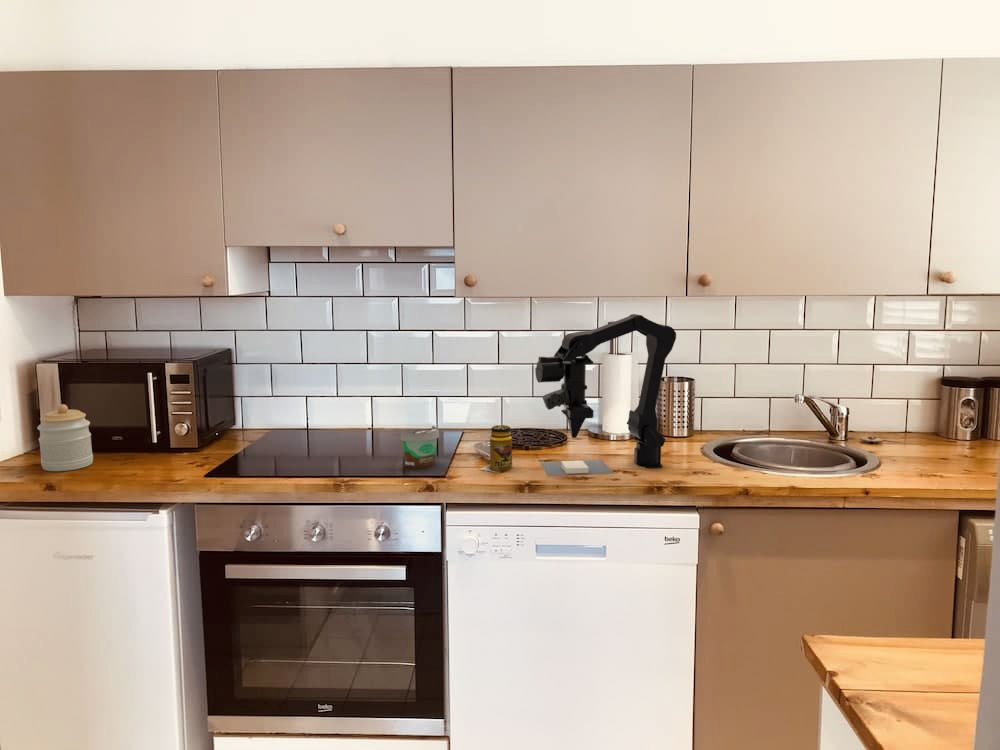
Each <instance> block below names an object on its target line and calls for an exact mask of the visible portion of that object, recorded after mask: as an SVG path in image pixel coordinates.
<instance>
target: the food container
mask: <svg viewBox="0 0 1000 750" xmlns="http://www.w3.org/2000/svg"><path fill="white" fill-rule="evenodd" d="M438 438H440V432H439V429H438V427H437V426H435V425H432V426H431V428H429V429H426V430H417V431H414V432H412V433H410V432H409V433H408V432H401V435H400V440H401V441H402V447H403V456H404V465H405V467H406V468H409V469H410V468H411V469H424V468H430V467H433V466H435V465H436V458H437V457H436V456H437V445H438V444H437V442H438Z"/></svg>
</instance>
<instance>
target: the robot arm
mask: <svg viewBox="0 0 1000 750" xmlns="http://www.w3.org/2000/svg"><path fill="white" fill-rule="evenodd" d="M632 332H638V333H639V334H641V335H643V336H645V344H646V345H645V346H646V352H647V359H646V360H647V361H646V366H645V371H644V374H643V380H642V385H641V391H640V395H639V399H638V404H637V406H636V408H635V409H634V410H631V409H630V410H629V412H628V420H627V422H626V425H627V428H628V431H629V433H630V434H631V436H632V437H633V438H634V439H633V440H634V441H636V443H635V444H636V445H635V448H634V450H633V451H634V453H633V454H634V455H633V461H634V463H635V464H636V465H638V467H641V468H649V469H650V468H663V464H662V461H661V460H662V459H661V458H662V447H664V445H665V441H666V438H665V437H664V436H663V435H662V434H661V433H660V432H659V431H658V421H659V420H658V416H657V410H656V408H657V402H658V398H659V393H660V388H661V383H662V377H663V373H664V367H665V362H666V359H667V357H668V356H669V355H670V353H671V352H672V350H673V347H674V345H675V343H676V340H677V339H676V338H677V333H676V331H675V329H674V328H673V327H672V326H670V325H665V324H662V323H661V324H659V323H657V322H655V321H652V320H650V319H648V318H646V317H645V316H643V315H642V314H636V313H632V314H630V315H628V316H627V317H624V318H621V319H618V320H616V321H613V322H610V323H607V324H604V325H601V326H600V327H597V328H593V329H590V330H583V331H582V330H581V331H575V332H570V333H567V334H566V335H564V336H563V339H562V341H561V345H560V346H559V348H558V349H557V351H556V352H555V354H553V356H538V361H537V363H536V367H535V371H534V372H535V378H536V381H537V383H538V384H539V383H557V382H561V380H563V382H562V383H561V386H560V389H557V390H554V391H551V392H549V393H547V394H544V395H542V399H543V403H544V405H545V408H547V410H549V411H550V410H553V409H554V408H555V407H558V408H559V407H561V406H563V409H561V413H562V414H563V415H564V416H565V417H566V418H567V421H568V426H569V431H570V435H571V438H572V439H576V438H577V437H578V435H579V432H580V431H581V428H582V426H583V424H584V422H585V420H586V419H593V418H594V410H593V408H591V407H590V406H589V405H588V401H587V400H586V391H587V390H588V385H587V384H586V375H587V374H586V372H587V371H586V366H587V365H593V364H594V361H593V360H592V359H591V358H590V357H589V355H588V353H590V352H592V351H594V349H596V348H597V347H598V346H599V345H601V344H605V343H606V342H609V341H611V340H614V339H617V338H620V337H623V336H625V335H628V334H630V333H632Z"/></svg>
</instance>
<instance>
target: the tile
mask: <svg viewBox="0 0 1000 750" xmlns="http://www.w3.org/2000/svg"><path fill="white" fill-rule="evenodd" d="M583 461H584V460H563V461H560V462H561V467H562V469H563V470H564V471H565V473H566V474H583V473H588V466H587V465H586V464H585V463H584V462H583Z"/></svg>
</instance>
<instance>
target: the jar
mask: <svg viewBox="0 0 1000 750" xmlns="http://www.w3.org/2000/svg"><path fill="white" fill-rule="evenodd" d="M86 416H87V414H86V413H85V412H82V411H80V410H78V409H69V407H68V406H67V404H64V403H63V404H59V405H58V406H57V408H56V410H53V411H49V412H47V413H45V414H44V415H43V416H41V417H40V418H39V420H40V421H41V423H40V424H39V425H38V426H37V427H36V428H37V430H39V438H38V441H39V442H38V443H39V451H40V464H41V468H42V469H43V471H46V472H66V471H75V470H79V469H82V468H86V467H88V466H91V465H92V464H93V463H94V461H93V460H94V454H93V449H92V433H91V432H90V429H89V426H90V424H91V421H89V420H88V419H86Z"/></svg>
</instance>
